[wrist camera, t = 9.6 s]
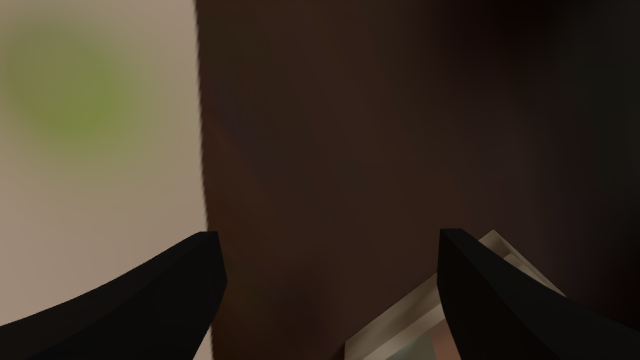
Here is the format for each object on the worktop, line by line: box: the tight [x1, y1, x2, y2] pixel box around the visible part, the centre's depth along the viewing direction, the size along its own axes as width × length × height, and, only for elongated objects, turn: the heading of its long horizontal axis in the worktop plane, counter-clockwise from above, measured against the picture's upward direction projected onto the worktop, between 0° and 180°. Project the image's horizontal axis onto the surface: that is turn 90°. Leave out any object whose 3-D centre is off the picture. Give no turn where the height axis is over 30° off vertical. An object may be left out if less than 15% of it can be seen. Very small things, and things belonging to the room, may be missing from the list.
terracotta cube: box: [429, 318, 461, 360], centre depth 20 cm, size 5×5×5 cm
